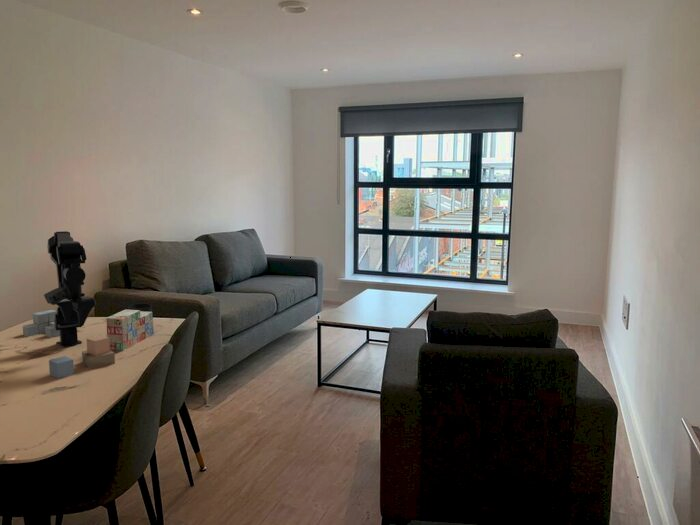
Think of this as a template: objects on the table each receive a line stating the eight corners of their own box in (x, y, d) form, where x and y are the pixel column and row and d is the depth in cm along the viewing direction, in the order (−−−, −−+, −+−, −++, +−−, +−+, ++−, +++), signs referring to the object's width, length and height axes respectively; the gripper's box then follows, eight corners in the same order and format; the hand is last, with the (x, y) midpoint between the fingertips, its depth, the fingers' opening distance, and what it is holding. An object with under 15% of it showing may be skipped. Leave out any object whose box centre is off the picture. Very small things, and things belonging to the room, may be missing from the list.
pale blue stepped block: (23, 335, 202) (21, 315, 201) (53, 328, 212) (52, 309, 211) (40, 340, 196) (38, 320, 195) (70, 333, 206) (69, 314, 205)
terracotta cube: (87, 352, 174) (86, 338, 173) (101, 348, 178) (100, 334, 177) (95, 355, 171) (95, 341, 170) (109, 351, 175) (109, 337, 174)
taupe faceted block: (82, 362, 175) (81, 351, 175) (107, 357, 181) (106, 346, 180) (89, 369, 170) (88, 357, 169) (115, 364, 175) (114, 353, 174)
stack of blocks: (139, 333, 209) (138, 303, 207) (154, 334, 208) (153, 304, 206) (107, 350, 188) (105, 317, 186) (123, 351, 187) (122, 318, 185)
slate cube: (49, 375, 163) (48, 360, 163) (65, 370, 167) (65, 355, 167) (57, 378, 161) (57, 363, 160) (74, 374, 165) (73, 359, 164)
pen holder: (157, 328, 215) (156, 305, 213) (137, 334, 207) (136, 310, 205) (142, 324, 220) (141, 302, 218) (122, 330, 212) (121, 306, 210)
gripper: (32, 278, 174) (36, 323, 176) (61, 286, 163) (64, 334, 166) (66, 274, 183) (68, 317, 185) (95, 281, 173) (98, 326, 175)
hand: (74, 323), depth 178 cm, fingers open, 9 cm apart
